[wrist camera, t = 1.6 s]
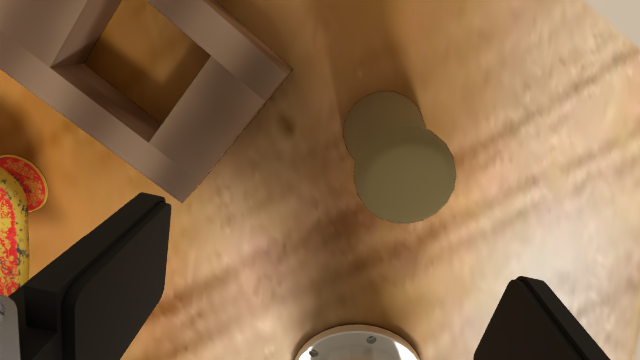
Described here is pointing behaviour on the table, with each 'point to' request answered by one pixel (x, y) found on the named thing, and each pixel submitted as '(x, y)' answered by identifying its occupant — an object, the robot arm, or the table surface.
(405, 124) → the cork
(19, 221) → the magic lamp
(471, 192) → the table surface
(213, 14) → the shaker holder
